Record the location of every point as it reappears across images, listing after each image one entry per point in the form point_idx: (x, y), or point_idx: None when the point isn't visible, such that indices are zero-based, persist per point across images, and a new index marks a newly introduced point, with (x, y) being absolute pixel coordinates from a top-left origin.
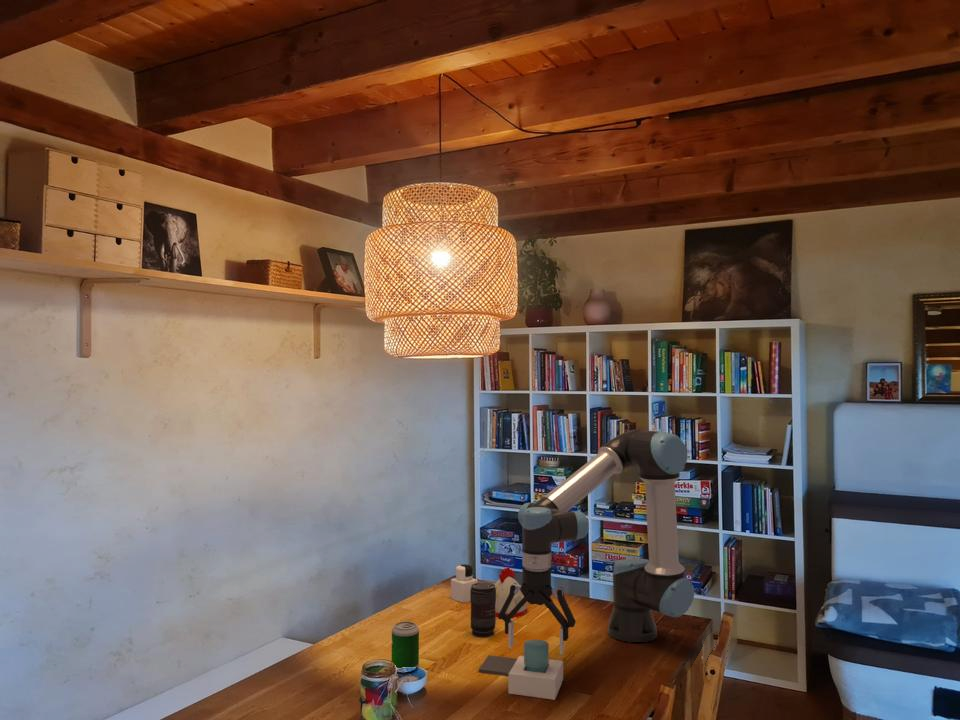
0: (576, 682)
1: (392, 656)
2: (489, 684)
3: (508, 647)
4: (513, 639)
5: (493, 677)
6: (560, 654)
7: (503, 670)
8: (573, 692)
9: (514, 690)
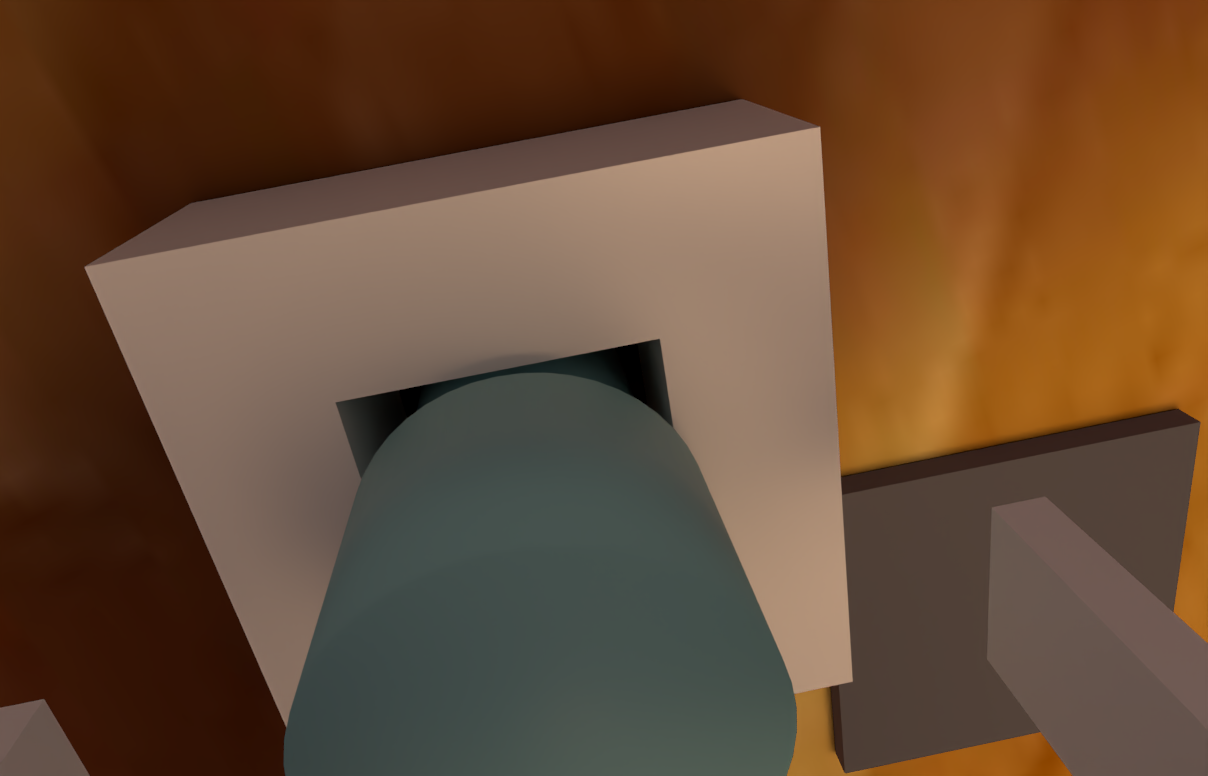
0: (215, 654)
1: None
2: (1007, 209)
3: (1049, 502)
4: (1042, 726)
5: (1007, 376)
6: (28, 705)
7: (949, 511)
8: (118, 461)
9: (678, 118)
